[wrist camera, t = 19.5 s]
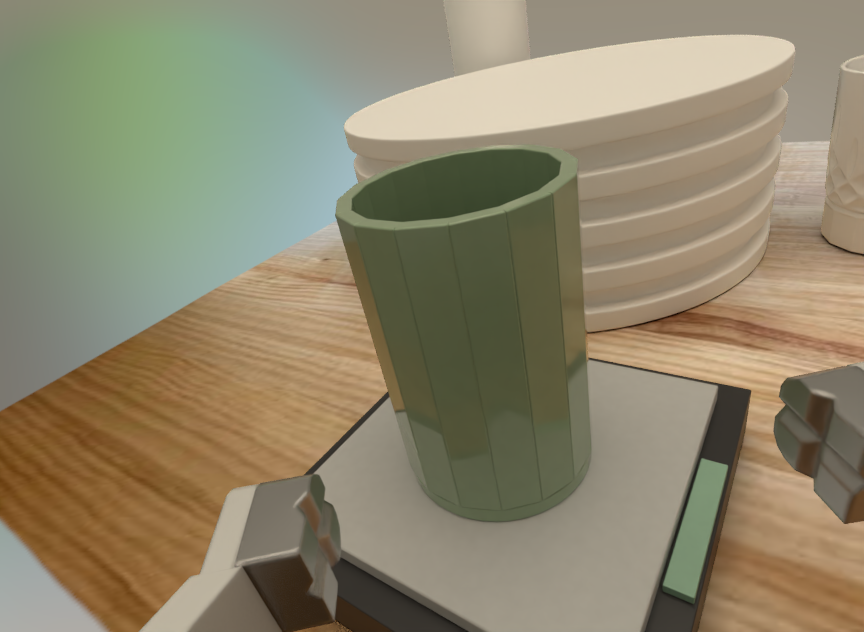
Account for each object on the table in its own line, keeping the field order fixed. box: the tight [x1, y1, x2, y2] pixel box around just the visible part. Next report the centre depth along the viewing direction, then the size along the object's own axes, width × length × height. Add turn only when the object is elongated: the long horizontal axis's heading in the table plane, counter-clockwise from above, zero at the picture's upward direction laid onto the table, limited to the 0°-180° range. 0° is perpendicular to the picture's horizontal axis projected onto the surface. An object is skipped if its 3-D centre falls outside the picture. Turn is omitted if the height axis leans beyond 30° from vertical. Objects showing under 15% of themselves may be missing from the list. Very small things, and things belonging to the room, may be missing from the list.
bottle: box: [443, 0, 531, 77], centre depth 51 cm, size 8×8×30 cm
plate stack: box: [344, 35, 795, 332], centre depth 38 cm, size 28×28×12 cm
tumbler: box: [335, 144, 592, 522], centre depth 16 cm, size 6×6×10 cm
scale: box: [303, 358, 751, 632], centre depth 20 cm, size 14×14×3 cm
